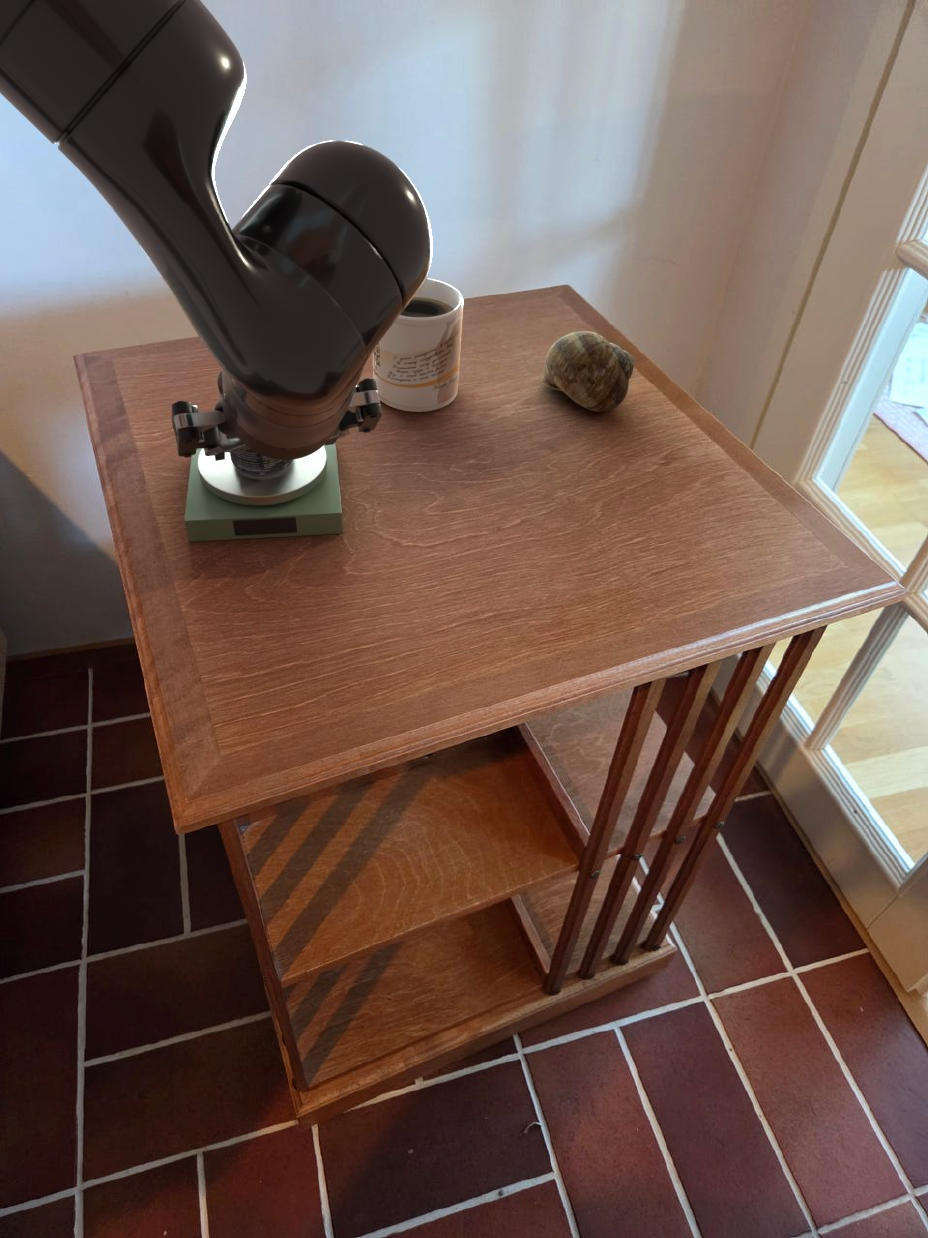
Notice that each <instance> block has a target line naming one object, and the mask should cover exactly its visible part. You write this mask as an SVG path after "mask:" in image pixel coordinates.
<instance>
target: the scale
mask: <svg viewBox="0 0 928 1238" xmlns="http://www.w3.org/2000/svg"><path fill="white" fill-rule="evenodd" d="M337 453H338V452H337V441H336V442H335V443H334V444H332V445H324V446H323V447H321V448H320V449H319V450H317V451H316V452H314V453H312V454H310V455H308V456H306V457H303V458H299V459H293V461H292V463H291V464H290V465H289V466H288V467H286V468H285V469H283V470H281V471H279V472H276V473H273V474H267V475H254V474H249V473H246V472H243V471H241V470H239V469H238V468H237V467H235V465H234V464H233V463H232V460H231V456H230V453H226V452H225V460H218V461H216V460H215V455H214V456H205V452H204V449H197V451H196V454H195V455H192V456H191V457H190V466H189V474H188V475H189V476H188V482H187V489H186V490H187V492H186V499H185V500H186V501H185V510H184V516H183V517H184V518H183V522H184V527H185V531H186V535H187V540H188V542H191V543H192V542H193V543H195V542H210V541H211V542H212V541H213V542H214V541H228V540H229V541H231V540H246V539H247V540H248V539H265V538H283V537H285V538H286V537H300V536H301V537H303V536H322V535H323V536H324V535H337V534H338V535H339V534H344V527H343V512H342V511H343V510H342V499H341V488H340V487H341V486H340V477H339V476H340V475H339V465H338V455H337Z"/></svg>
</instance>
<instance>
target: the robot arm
mask: <svg viewBox="0 0 928 1238" xmlns="http://www.w3.org/2000/svg"><path fill="white" fill-rule="evenodd" d="M246 84H247V73H246V67H245V64H244V60H243V58H242V56H241V53H240V52H239V50H238V48H237V47H236V45H235V43H234V42H233V40H232V39H231V38H230V36H229V35H228V33H227V32H226V30H225V29H224V28H223V26H222V25H221V24H220V23H219V21H218V20H217V19H216V17H215V16H214V15H213V13H212V12H211V11H210V10H209V9H208V7H207V6H206V5H205V4H204V3H203V2H202V0H0V95H1V96H2V97H4V98H5V99H6V100H7V101H8V102H9V104H11V105H12V106H13V107H14V108H15V109H16V110H17V111H18V112H19V113H20V114H21V115H22V116H23V117H24V118H25V119H26V120H28V122H29V123H30V124H31V125H33V127H34V128H36V129H37V131H39V132H40V133H41V135H43V136H44V137H45V138H46V139H47V140H48V141H49V142H50V143H51V144H52V145H56V144H57V143H58V146H57V149H58V151H60V153H61V154H62V155H64V157H65V158H66V159H67V160H68V161H69V162H70V163H71V164H72V165H74V166H75V168H77V169H78V171H79V172H81V174H82V175H83V176H84V178H86V179H87V181H88V182H89V183H90V184H91V185H92V186H93V187H94V188H95V189H96V191H97V192H98V194H100V195H101V197H102V198H103V199H104V200H105V202H106V203H107V204H108V205H109V207H110V208H111V210H113V212H114V213H115V214H116V215H117V217H118V218H119V219H120V221H121V222H122V223H123V225H124V226H125V227H126V228H127V230H128V231H129V233H130V234H131V235H132V237H133V239H134V240H135V241H136V243H137V244H138V245H139V246H140V248H141V250H142V251H143V252H144V253H145V255H146V256H147V258H148V259H149V260H150V262H151V264H152V265H153V266H154V268H155V270H156V271H157V273H158V274H159V276H160V277H161V279H162V280H163V282H164V283H165V284H166V286H167V288H168V290H169V291H170V292H171V294H172V297H173V298H174V299H175V301H176V303H177V304H178V305H179V307H180V309H181V311H182V312H183V313H184V316H185V317H186V318H187V320H188V322H189V323H190V325H191V327H192V328H193V329H194V331H195V333H196V334H197V336H198V337H199V339H200V340H201V342H202V343H203V344H204V346H205V347H206V349H207V350H208V351H209V353H210V354H211V356H212V357H213V358H214V360H215V361H216V363H217V364H218V365H219V366H220V367H221V370H222V391H223V400H220V401H218V402H217V403H216V404H215V406H214V409H213V410H205V411H199V407H198V406H197V405H192V402H190V401H185V400H178V401H176V402H174V403H172V404H171V426H172V429H173V431H174V436H175V442H176V446H177V447H176V449H177V450H176V451H177V455H178V457H181V458H182V457H183V458H184V459H185V458H186V459H187V458H191V456H192V455H195V454H196V451H197V449H204V452H205V456H214V455H215V460H216V461H218V460H225V452H226V453H240V452H243V451H246V450H249V449H251V450H253V451H255V452H256V453H258V454H260V455H263V456H265V457H269V458H273V459H278V460H293V459H299V458H303V457H306V456H308V455H310V454H312V453H314V452H316V451H317V450H319V449H320V448H321V447H323V446H324V445H332V444H334V443H335V442H336V443H337V441H338V439H343V438H346V437H347V436H349V435H351V433H350V429H352V428H357V429H358V432H359V433H363V434H367V433H371V431H374V430H375V429H376V427H377V426H378V424H379V422H380V420H381V418H382V416H383V411H382V406H381V405H382V404H381V400H379V395H378V390H377V384H376V380H375V379H373V378H370V377H368V378H364V379H363V380H360V379H361V377H362V375H363V371H364V368H365V365H366V364H367V362H368V360H369V358H370V356H371V355H372V354H373V349H374V348H375V347H376V345H377V344H378V343H379V341H380V340H381V339H382V337H383V336H384V335H385V334H386V332H387V331H388V330H389V328H390V327H391V326H392V325H393V323H394V322H395V321H396V319H397V318H398V317H399V316H400V314H401V313H402V312H403V310H404V309H405V308H406V306H407V305H408V304H409V302H410V301H411V300H412V298H413V297H414V296H415V294H416V293H417V292H418V290H419V289H420V288H421V286H422V285H423V283H424V281H425V279H426V278H427V277H428V274H429V272H430V268H431V264H432V259H433V235H432V234H433V233H432V228H431V227H432V226H431V222H430V219H429V215H428V212H427V210H426V207H425V205H424V202H423V200H422V197H421V195H420V193H419V191H418V190H417V187H415V184H413V183H412V180H411V179H410V178H409V177H408V176H407V174H406V173H405V172H404V171H403V170H402V169H401V168H400V167H399V166H398V165H397V164H396V163H395V162H394V161H393V160H391V159H390V158H388V157H387V156H386V155H385V154H383V153H382V152H380V151H378V150H376V149H374V148H372V147H371V146H368V145H365V144H361V143H359V142H355V141H349V140H327V141H322V142H318V143H315V144H312V145H309V146H307V147H306V148H304V149H302V150H301V151H299V152H297V154H295V155H294V156H293V157H291V159H290V160H288V161H287V162H286V163H285V164H284V165H283V167H282V168H281V169H280V171H279V172H278V173H276V174H275V176H274V178H273V179H272V180H271V181H270V182H269V184H268V185H267V187H266V188H265V189H264V190H263V191H262V192H261V194H260V195H259V196H258V197H257V199H256V200H255V201H254V202H253V204H252V205H251V206H250V207H249V208H248V209H247V211H246V212H245V213H244V214H243V216H242V217H241V218H240V219H239V221H238V222H237V223H236V224H235V225H234V226H233V228H231V225H230V224H229V221H228V218H227V216H226V213H225V210H224V208H223V206H222V203H221V200H220V197H219V195H218V190H217V187H216V186H217V185H216V181H215V166H216V162H217V159H218V155H219V151H220V150H221V146H222V144H223V141H224V139H225V136H226V135H227V132H228V130H229V128H230V126H231V125H232V122H233V120H234V118H235V116H236V114H237V111H238V110H239V108H240V105H241V102H242V99H243V96H244V94H245V89H246V86H247V85H246Z"/></svg>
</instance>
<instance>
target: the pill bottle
mask: <svg viewBox="0 0 928 1238" xmlns="http://www.w3.org/2000/svg"><path fill="white" fill-rule="evenodd" d="M216 384H217V389H218V394H219V399H220V401H221V400H223V391H222V369H221V370H220V372H219V373H218V377H217V382H216ZM230 456H231V460H232V463H233V464H234V465H235V467H237V468H238V469H239V470H241V471H243V472H246V473H249V474H254V475H267V474H273V473H276V472H279V471H281V470H283V469H285V468H286V467H288V466H289V465H290V464H291V463H292V461H293V460H278V459H273V458H269V457H265V456H263V455H260V454H258V453H256V452H255V451H253V450H251V449H249V450H246V451H243V452H240V453H230Z"/></svg>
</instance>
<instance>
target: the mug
mask: <svg viewBox="0 0 928 1238" xmlns="http://www.w3.org/2000/svg"><path fill="white" fill-rule="evenodd" d="M463 316H464V297H463V295H462V293H461V292H460V291H459V290H458V289H457V288H455V287H454V286H452V285H450V284H449V283H446V282H444V281H441V280H437V279H432V278H427V277H426V279H425V281H424V283H423V285H422V286H421V288H420V289H419V290H418V292H417V293H416V294H415V296H414V297H413V298H412V300H411V301H410V302H409V304H408V305H407V306H406V308H405V309H404V310H403V312H402V313H401V314H400V316H399V317H398V318H397V319H396V321H395V322H394V323H393V325H392V326H391V327H390V328H389V330H388V331H387V332H386V334H385V335H384V336H383V337H382V339H381V340H380V341H379V343H378V344H377V345H376V347H375V348H374V349H373V351H372V379H375V380H376V384H377V390H378V395H379V400H380V402H382V403H383V404H385V405H387V406H389V407H390V408H391V407H392V408H393V409H396V410H399V411H400V410H401V411H405V412H411V413H423V412H425V413H426V412H432V411H437V410H439V409H442V408H444V407H447V406H448V405H450V404H451V403H452V402H454V400H455V399H456V397H457V395H458V392H459V382H460V381H459V380H460V367H461V366H460V363H461V351H462V350H461V348H462V332H463Z"/></svg>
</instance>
